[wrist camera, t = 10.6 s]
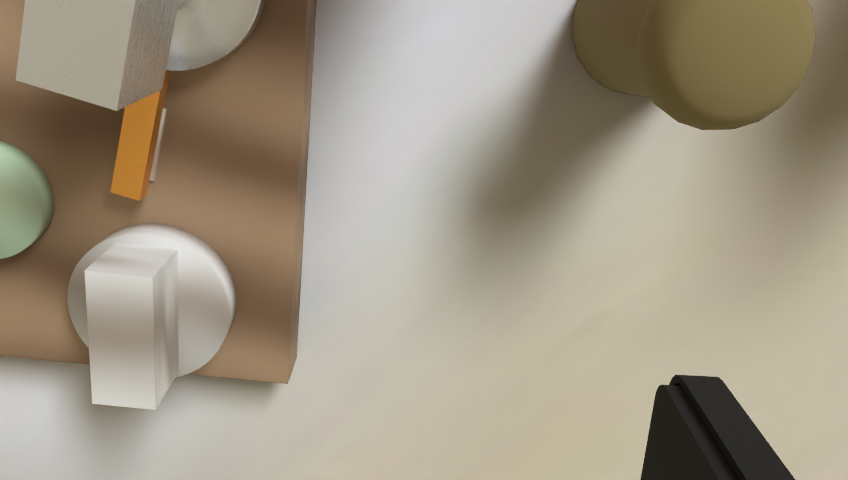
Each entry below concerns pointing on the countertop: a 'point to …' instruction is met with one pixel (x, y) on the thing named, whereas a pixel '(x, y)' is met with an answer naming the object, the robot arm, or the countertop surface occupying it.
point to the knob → (128, 60)
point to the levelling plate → (160, 220)
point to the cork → (698, 54)
